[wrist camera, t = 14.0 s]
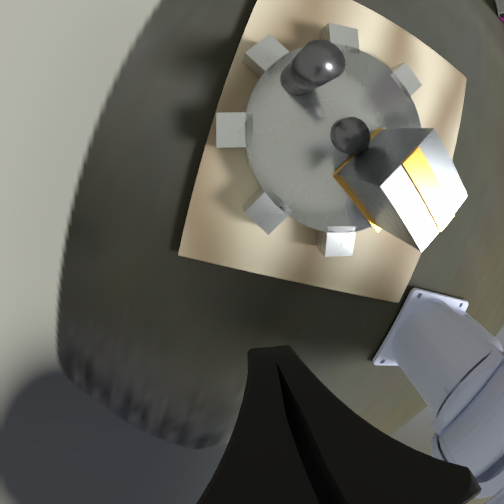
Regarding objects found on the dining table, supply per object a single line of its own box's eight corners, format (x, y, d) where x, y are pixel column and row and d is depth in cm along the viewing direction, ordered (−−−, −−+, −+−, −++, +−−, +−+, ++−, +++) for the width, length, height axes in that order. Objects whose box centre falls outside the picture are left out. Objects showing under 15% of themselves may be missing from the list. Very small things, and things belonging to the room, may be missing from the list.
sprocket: (330, -1, 12) (368, -40, 7) (449, 155, 16) (504, 165, 11) (164, 134, 14) (137, 127, 9) (325, 287, 19) (359, 336, 13)
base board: (461, 78, 15) (466, 78, 14) (394, 299, 21) (398, 303, 20) (269, -26, 11) (270, -31, 11) (179, 251, 17) (177, 255, 17)
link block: (382, 129, 14) (435, 128, 9) (416, 181, 15) (469, 196, 11) (336, 174, 14) (381, 186, 10) (375, 225, 16) (423, 252, 11)
